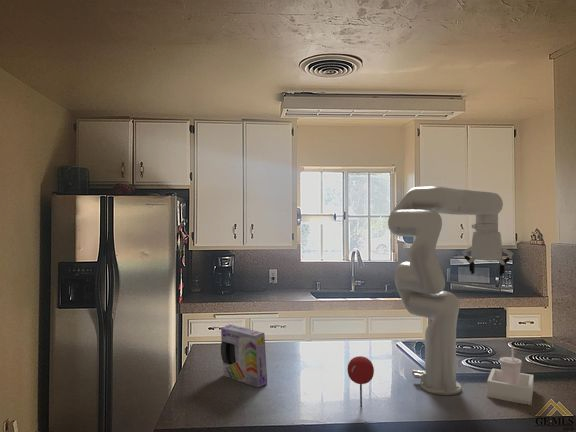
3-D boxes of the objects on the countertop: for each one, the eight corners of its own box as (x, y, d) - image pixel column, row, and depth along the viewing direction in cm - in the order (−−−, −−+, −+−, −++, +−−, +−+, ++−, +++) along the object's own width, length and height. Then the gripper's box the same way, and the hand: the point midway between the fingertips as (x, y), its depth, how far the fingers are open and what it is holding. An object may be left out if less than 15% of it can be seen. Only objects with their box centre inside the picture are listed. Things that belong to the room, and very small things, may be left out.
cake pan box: (220, 375, 160) (219, 325, 160) (231, 371, 164) (230, 322, 163) (257, 389, 147) (256, 335, 147) (268, 385, 151) (267, 332, 150)
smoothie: (524, 395, 138) (524, 349, 137) (502, 394, 139) (501, 348, 139) (519, 387, 144) (518, 343, 144) (497, 386, 145) (497, 342, 145)
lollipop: (347, 401, 138) (347, 352, 137) (373, 402, 137) (372, 353, 136) (348, 413, 130) (347, 361, 130) (375, 414, 129) (374, 362, 129)
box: (487, 396, 140) (487, 380, 140) (492, 383, 150) (492, 368, 150) (531, 405, 133) (531, 388, 133) (533, 390, 144) (533, 375, 144)
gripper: (460, 228, 167) (460, 274, 168) (512, 229, 158) (512, 277, 159) (463, 227, 174) (463, 271, 174) (514, 227, 165) (513, 274, 165)
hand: (486, 274), depth 166 cm, fingers open, 9 cm apart
